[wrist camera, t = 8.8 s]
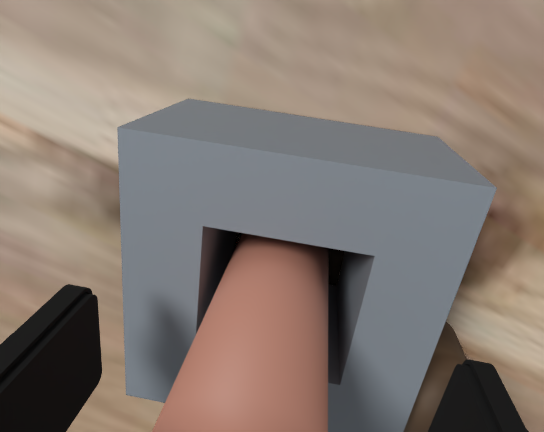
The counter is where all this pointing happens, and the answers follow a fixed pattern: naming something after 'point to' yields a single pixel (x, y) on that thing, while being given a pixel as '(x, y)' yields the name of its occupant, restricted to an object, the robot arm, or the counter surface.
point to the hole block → (296, 240)
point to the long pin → (258, 346)
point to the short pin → (435, 380)
